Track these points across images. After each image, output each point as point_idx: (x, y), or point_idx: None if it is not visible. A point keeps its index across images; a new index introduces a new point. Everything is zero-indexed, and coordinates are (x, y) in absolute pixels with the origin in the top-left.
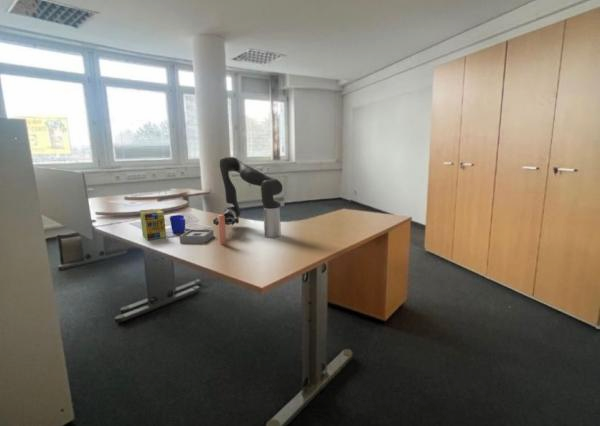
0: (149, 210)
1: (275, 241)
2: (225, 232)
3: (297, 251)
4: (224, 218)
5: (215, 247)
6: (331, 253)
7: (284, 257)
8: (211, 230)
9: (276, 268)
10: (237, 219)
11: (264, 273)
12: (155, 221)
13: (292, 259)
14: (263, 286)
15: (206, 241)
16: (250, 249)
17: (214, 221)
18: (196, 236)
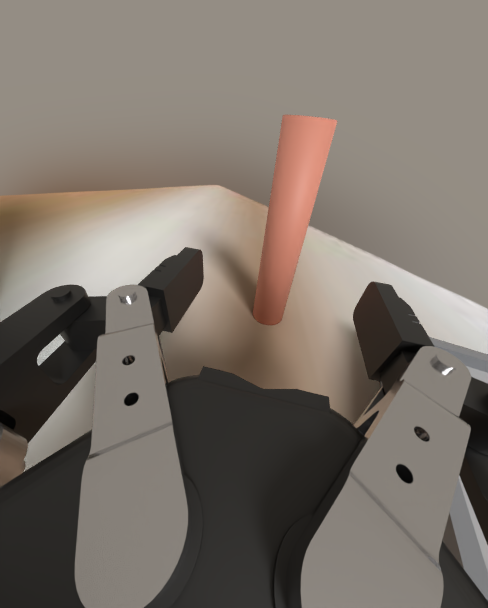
0: None
1: (27, 273)
2: (261, 256)
3: (74, 212)
4: (278, 149)
5: (297, 291)
6: (27, 194)
7: (132, 206)
8: (473, 552)
9: (177, 195)
10: (72, 289)
11: (202, 193)
12: None
13: (126, 200)
14: (216, 185)
15: (381, 384)
16: (178, 247)
17: (480, 392)
18: (462, 349)
